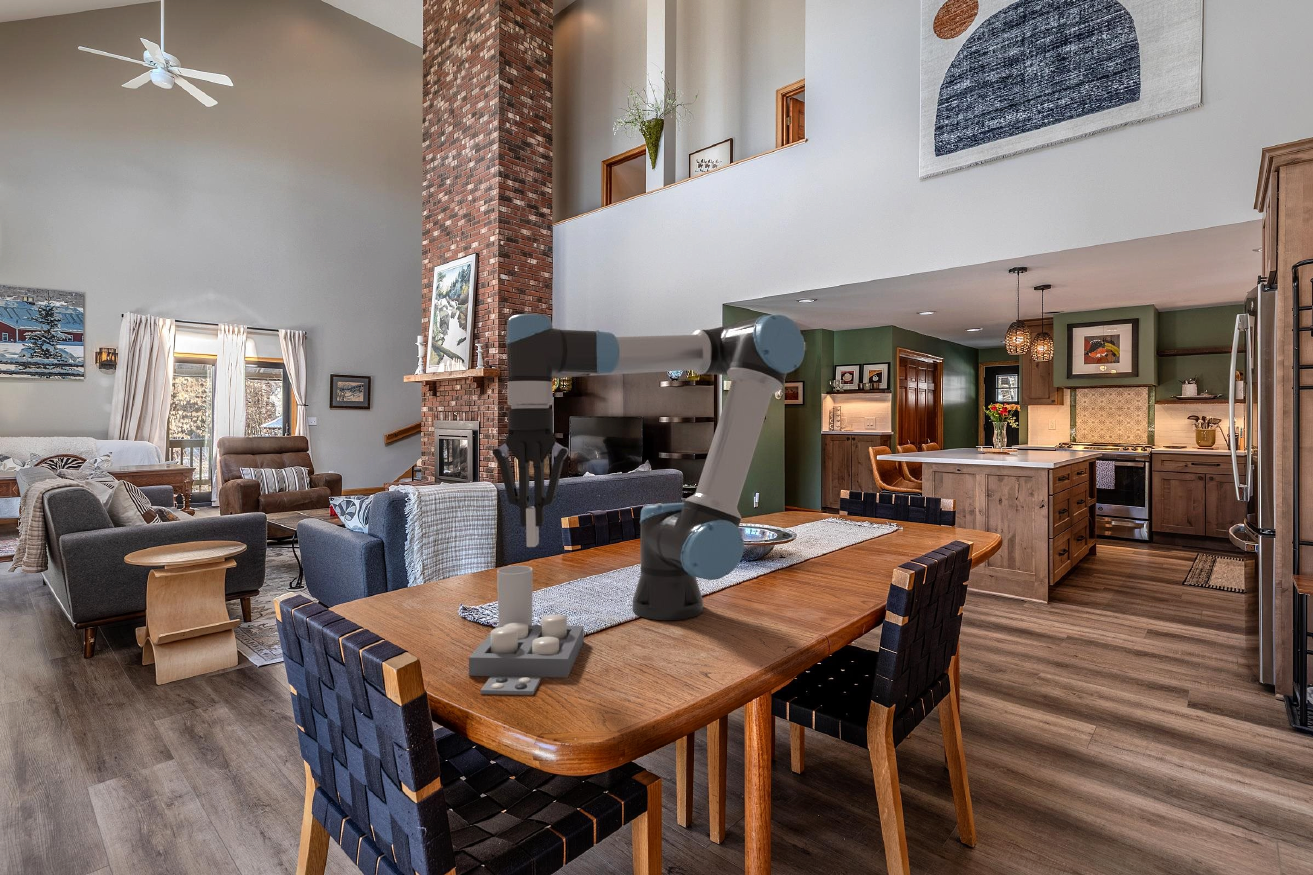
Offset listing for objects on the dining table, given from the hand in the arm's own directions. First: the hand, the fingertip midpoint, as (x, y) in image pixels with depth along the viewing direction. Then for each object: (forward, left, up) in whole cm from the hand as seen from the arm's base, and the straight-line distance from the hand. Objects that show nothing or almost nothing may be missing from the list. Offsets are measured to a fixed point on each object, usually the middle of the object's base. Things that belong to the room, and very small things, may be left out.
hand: (532, 545), depth 109 cm
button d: (+4, +3, -18) cm, 18 cm away
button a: (-3, -4, -18) cm, 18 cm away
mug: (+8, -15, -20) cm, 26 cm away
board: (+1, 0, -20) cm, 20 cm away
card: (+1, +12, -20) cm, 23 cm away
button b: (+4, -4, -19) cm, 20 cm away
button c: (-3, +3, -19) cm, 20 cm away
